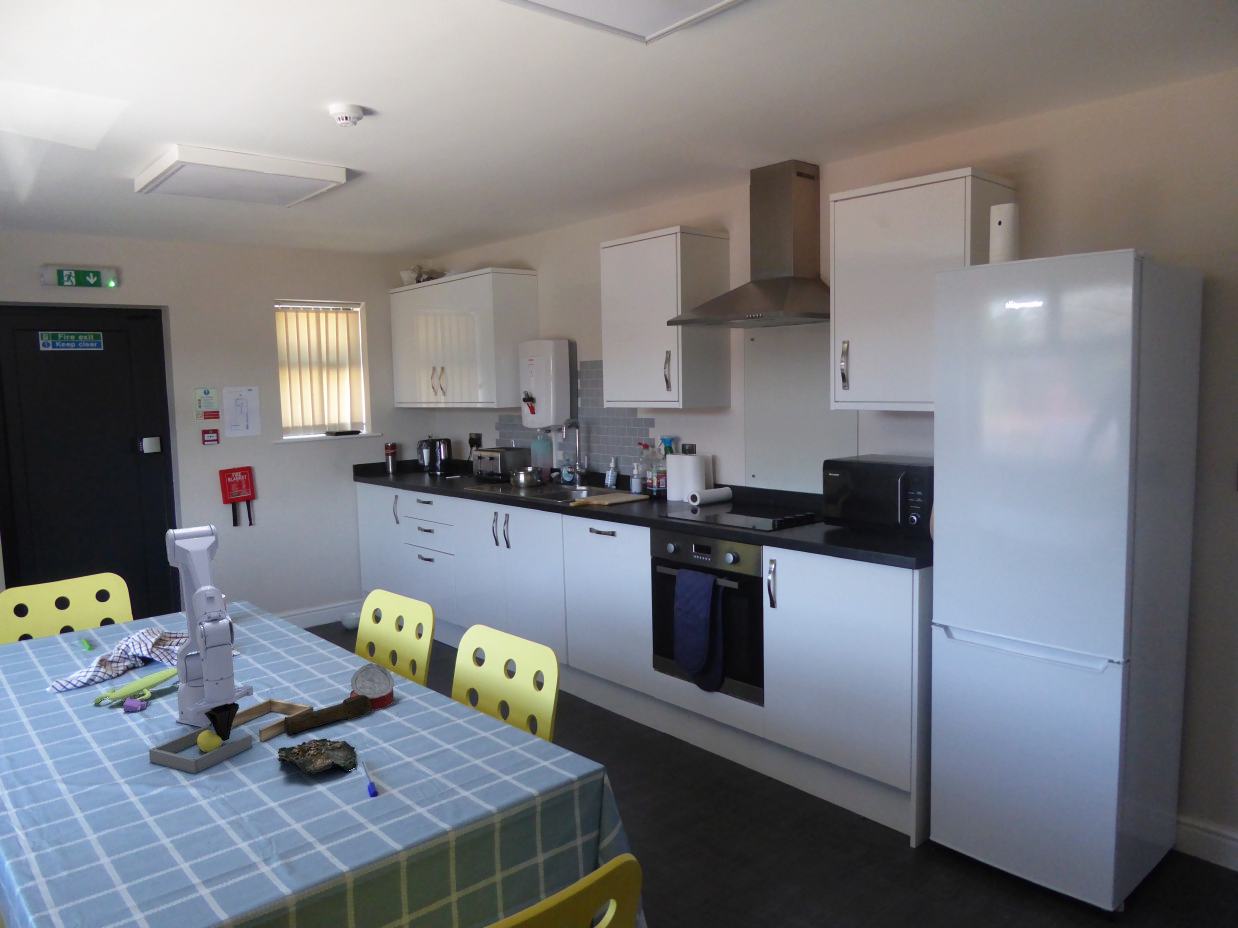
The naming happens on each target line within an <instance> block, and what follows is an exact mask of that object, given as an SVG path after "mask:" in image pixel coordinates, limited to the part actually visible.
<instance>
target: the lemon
mask: <svg viewBox="0 0 1238 928" xmlns="http://www.w3.org/2000/svg"><path fill="white" fill-rule="evenodd" d="M222 743H223V741H222V739H221V738H220V737H219V736H218V735H217V734H216V732H213V731H211V729H210V730H206V731H203V732H202V733H200V734H199V736H198V738H197V743H196V744H197V746H198V748H199V749H200V750H201V751H203V752H205V753H208V752H211V751H213V750H215V749H217V748H220V747H222Z"/></svg>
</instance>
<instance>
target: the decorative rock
mask: <svg viewBox="0 0 1238 928" xmlns="http://www.w3.org/2000/svg"><path fill="white" fill-rule="evenodd" d="M355 750H356V747H355V746H351V744H349V743H348V742H347V741H345V740H342V741H339V740H335V741H334V740H333V741H332V740H330V739H327V738H320V739H311V740H309V741H302V743H301V744H296V745H295V746H289V747H285V746H283V747H280V748H278V752H277V754H278V756H277V757H278V759H277V761H278V762H282V763H287V762H288V763H290V764H295V765H296V766H297V767H298V768H299V769H301V771H302V774H305V775H313V774H317V773H320V772H323V771H326V770H330V769H331V768H332V767H333V766H334V765H336V767H342V768H343V769H344V770H345V771H347V772H348V771H349V770H351V769H353V768H355V767H356V768H357V763H356V759H357V757H356V752H355ZM351 771H352V770H351ZM348 773H351V772H350V771H349V772H348Z"/></svg>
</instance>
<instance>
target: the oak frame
mask: <svg viewBox="0 0 1238 928" xmlns="http://www.w3.org/2000/svg"><path fill="white" fill-rule="evenodd" d="M313 711H315V710H314V706H312V705H306V704H300V703H297V702H290V701H284V700H279V699H274V698H269V699H267V700H265V701H261V702H260V703H257V704H255V705H252V706H250V707H248V708H245V709H243V710H241V711H237V713H236V715H235V717H234V720H233V723H232V727H231V729H232V728H236V727H238V726H239V725H242V724H245V723H246V722H249V721H252V720H253V719H255V718H258V717H260V716H263V715H264V714H267V713H269V712H276V713H280V714H285V715H288V716H287V717H293V716H296V715H300V714H304V713H307V712H313ZM284 719H285V717H284V718H281V719H280V720H277V721H276V722H273V723H270V724H269V725H266V726H264V727H262V728H259V729H258V732H259V733H258V734H259V735H258V736H259V742H265V741H266V740H269V739H272V738H274V737H276V736H278V735H279V734H281V733H284V732H286V730H285V723H284Z"/></svg>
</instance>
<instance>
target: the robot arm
mask: <svg viewBox="0 0 1238 928" xmlns="http://www.w3.org/2000/svg"><path fill="white" fill-rule="evenodd" d="M165 533H166V534H165V545H166V554H167V561H168V562H169V566H170V567H174V568H178V570H179V574H180V576H181V583H182V592H183V593H182V594H183V599H184V610H185V617H186V619H185V620H186V625H187V626H186V627H187V635H188V639H187V640H186V641H184V643H183V644H182V645H180V646H179V648H178V649H177V651H176V668H177V674H178V675H177V678H178V681H179V682H180V685H179V687H178V689H177V694H176V695H177V696H176V697H177V706H178V709H177V710H178V718H175V722H177V723H183V724H185V725H191V726H195V727H199V728H202V727H204V726H207V725H208V726H210V725H212V728H213V729H214V733H215V734H217V735H218V736H219V737H220V738H221V739H222V742H225V741H228V740H230V737H231V731H232V728H231V727H232V723H233V720H234V717H235V715H236V713H238V712H239V710H240V704H239V703H236V702H238V701H237V700H240V699H243V698H245V697H251V696H253V695H254V688H253V685H249V684H245V685H243V686H240V687H236V686H235V673H234V662H233V661H234V660H233V658H234V657H233V648H232V645H234V643H235V628H234V624H233V621H232V619H231V617H230V614H229V612H227V611H226V607H225V602H224V598H223V594H222V591H221V590H220V589H219V588H217V587H215V585H214V578H213V577H214V576H213V575H214V574H213V568H212V561H214V560H215V559H214V558H215V556H216V555H217V551H218V549H219V533H218V531H217V527H216V526H214V524H209V525H203V526H194V527H185V528H177V529H172V528H169V529H167V532H165Z"/></svg>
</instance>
